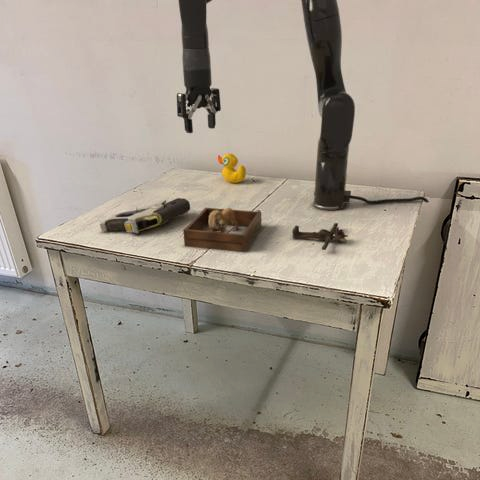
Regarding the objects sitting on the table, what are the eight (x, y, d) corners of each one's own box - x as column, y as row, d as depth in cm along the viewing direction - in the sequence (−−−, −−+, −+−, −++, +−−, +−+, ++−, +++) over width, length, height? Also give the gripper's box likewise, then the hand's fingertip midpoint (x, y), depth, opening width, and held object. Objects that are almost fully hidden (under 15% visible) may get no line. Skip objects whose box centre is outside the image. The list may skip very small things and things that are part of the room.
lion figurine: (224, 246, 128) (223, 214, 123) (205, 244, 129) (203, 212, 124) (241, 226, 140) (240, 196, 135) (223, 224, 141) (222, 194, 136)
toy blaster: (94, 217, 137) (129, 222, 128) (157, 192, 153) (192, 195, 144) (100, 236, 139) (134, 242, 131) (161, 209, 155) (195, 213, 147)
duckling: (214, 181, 177) (213, 153, 172) (222, 178, 181) (221, 150, 176) (241, 186, 172) (240, 157, 167) (248, 182, 176) (248, 154, 171)
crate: (261, 226, 139) (261, 211, 137) (245, 252, 125) (245, 235, 122) (206, 222, 143) (205, 207, 141) (184, 246, 129) (183, 230, 126)
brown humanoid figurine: (301, 215, 138) (353, 215, 133) (302, 229, 140) (352, 230, 135) (284, 238, 124) (342, 240, 119) (285, 254, 126) (342, 256, 121)
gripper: (185, 70, 124) (190, 136, 132) (225, 65, 132) (227, 128, 141) (167, 68, 128) (173, 132, 137) (207, 64, 137) (210, 125, 145)
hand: (200, 130), depth 139 cm, fingers open, 8 cm apart
